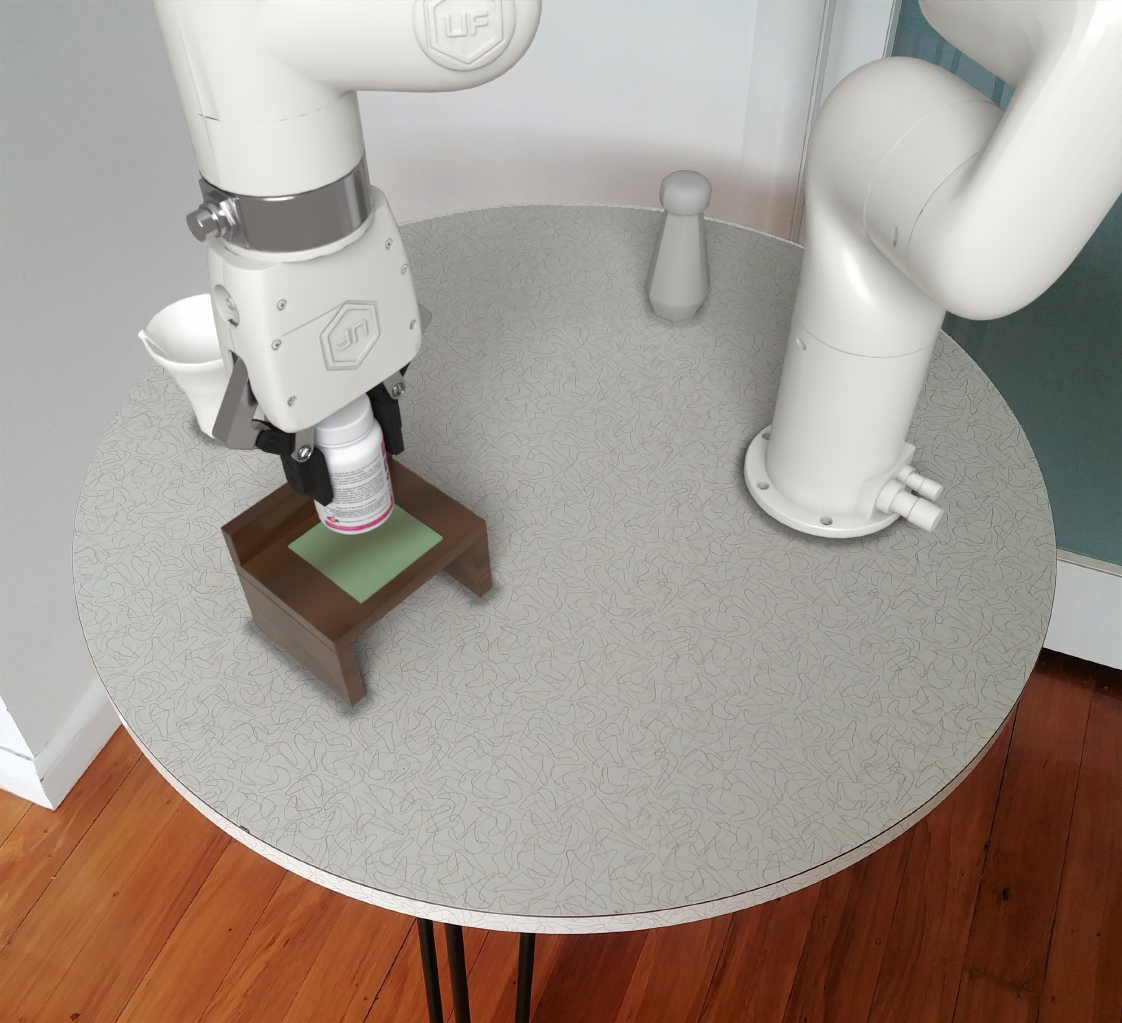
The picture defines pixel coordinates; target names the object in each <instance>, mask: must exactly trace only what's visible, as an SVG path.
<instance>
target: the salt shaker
mask: <svg viewBox="0 0 1122 1023" xmlns="http://www.w3.org/2000/svg"><path fill="white" fill-rule="evenodd" d="M712 188H713V187H712V183H711V181H710V180H709V179H708V177H706V175H704V174H703V173H700V172H699V171H695V170H690V169H680V170H676V171H673V172H671V173H669V174H667V175H666V176H665V177H664V178H663V179H662V180H661V183H660V188H659V198H658V199H659V202H660V205H661V206H662V208H663V209H664V211H663V214H662V219H661V221H660V225H659V229H658V233H657V236H656V237H657V238H656V240H655V244H654V248H653V252H652V255H651V259H650V263H649V266H648V271H647V274H646V278H645V284H644V292H645V294H646V295H647V298H648V300H649V301H650V303H651V306H652V309H653V311H654V314H655V316H657V317H660V318H663V319H664V320H667V321H669V322H672V323H675V322H681V321H687V320H692V319H693V318H694V316H695V314H696V313H697V311H698V310H699V309H700V308H701V306H702V305H703V304H704V302H705V301H706V300H707V299H708V296H709V293H710V288H711V281H710V270H709V269H710V268H709V257H708V247H707V246H708V245H707V239H706V238H707V236H706V225H705V215H704V211H705V210H706V209H707V208H709V206H710V202H711V197H712V191H713V189H712Z"/></svg>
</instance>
